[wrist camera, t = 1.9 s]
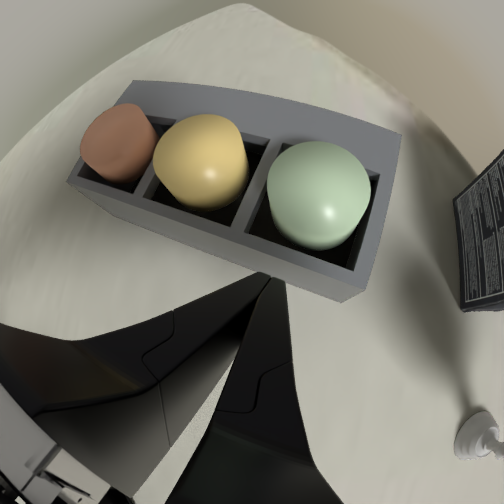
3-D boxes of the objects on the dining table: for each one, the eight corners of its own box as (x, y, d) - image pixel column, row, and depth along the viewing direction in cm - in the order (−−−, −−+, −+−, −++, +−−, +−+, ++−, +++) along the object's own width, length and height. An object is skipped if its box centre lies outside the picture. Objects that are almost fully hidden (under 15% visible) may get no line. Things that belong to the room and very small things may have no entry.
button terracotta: (137, 192, 19) (116, 171, 16) (90, 177, 20) (68, 158, 17) (172, 131, 20) (157, 106, 17) (123, 123, 21) (106, 101, 18)
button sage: (344, 263, 16) (355, 249, 13) (257, 232, 17) (250, 212, 14) (367, 185, 17) (379, 159, 14) (288, 159, 18) (287, 130, 15)
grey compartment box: (341, 302, 21) (365, 290, 14) (113, 215, 26) (66, 181, 19) (376, 185, 24) (401, 134, 16) (162, 127, 28) (133, 80, 21)
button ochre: (229, 222, 17) (217, 201, 14) (158, 198, 18) (137, 177, 15) (261, 152, 18) (256, 123, 15) (193, 135, 19) (179, 109, 16)
